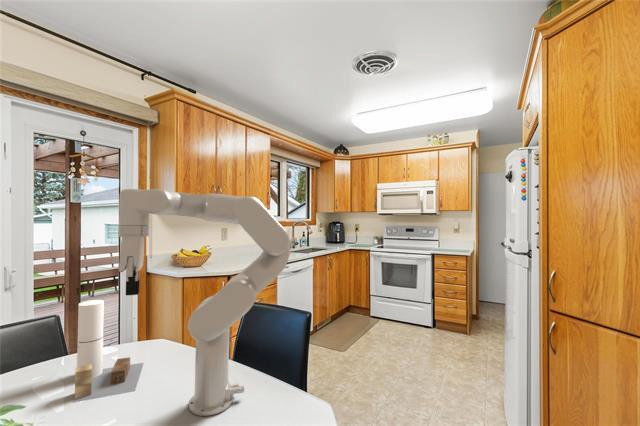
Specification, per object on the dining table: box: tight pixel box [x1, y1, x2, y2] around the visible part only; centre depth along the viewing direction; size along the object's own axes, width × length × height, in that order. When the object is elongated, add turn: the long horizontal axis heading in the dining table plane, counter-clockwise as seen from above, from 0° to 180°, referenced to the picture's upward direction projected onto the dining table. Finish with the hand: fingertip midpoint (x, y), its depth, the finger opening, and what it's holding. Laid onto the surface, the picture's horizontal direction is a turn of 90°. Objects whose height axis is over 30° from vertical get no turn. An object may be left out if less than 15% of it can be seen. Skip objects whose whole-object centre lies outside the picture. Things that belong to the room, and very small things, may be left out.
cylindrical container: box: [76, 299, 105, 378], centre depth 105 cm, size 7×7×25 cm
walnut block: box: [110, 356, 131, 385], centre depth 105 cm, size 4×4×10 cm
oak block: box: [74, 364, 92, 399], centre depth 94 cm, size 4×4×8 cm
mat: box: [72, 362, 144, 403], centre depth 102 cm, size 16×20×1 cm
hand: (132, 294), depth 88 cm, fingers closed
